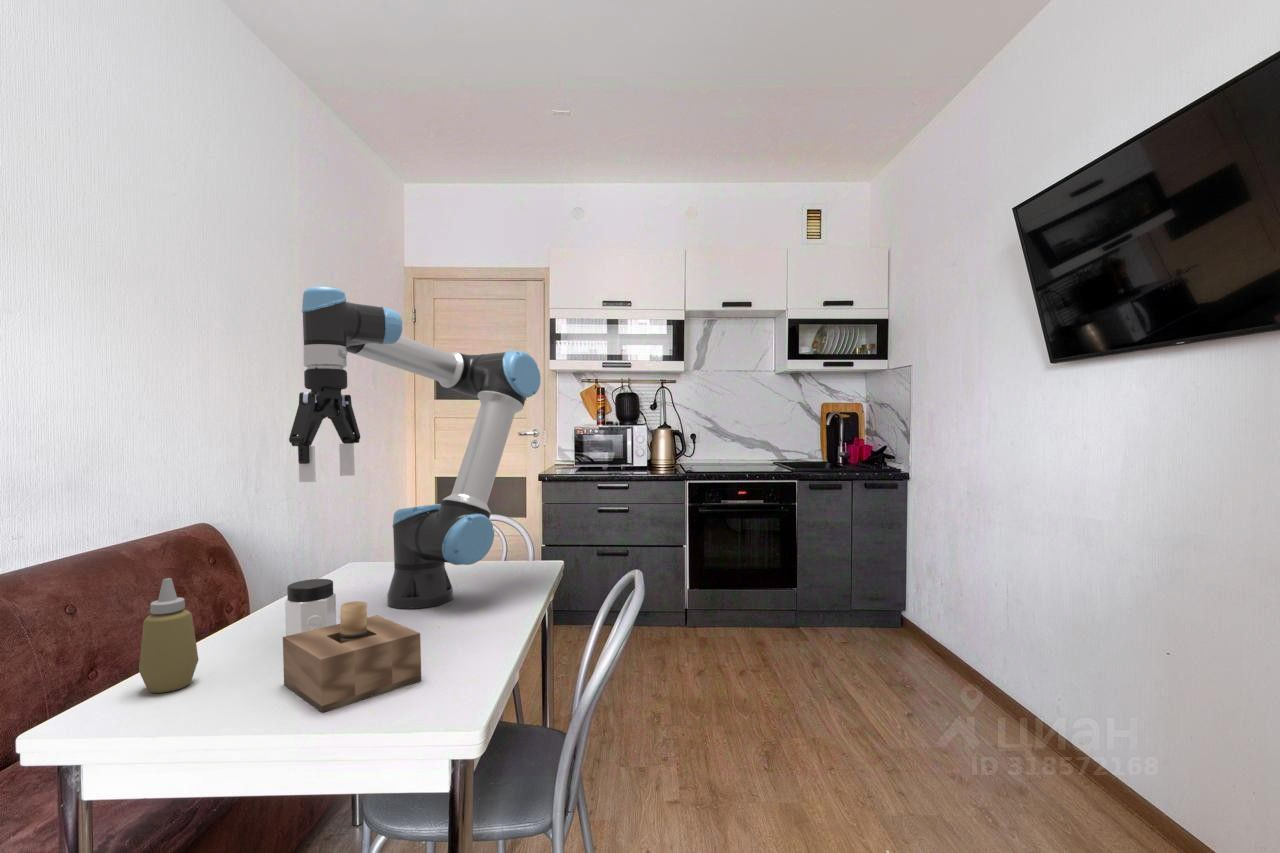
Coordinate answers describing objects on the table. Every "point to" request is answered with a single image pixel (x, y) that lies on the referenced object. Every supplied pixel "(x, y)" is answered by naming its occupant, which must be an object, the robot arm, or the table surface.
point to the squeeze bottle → (168, 643)
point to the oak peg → (353, 621)
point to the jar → (310, 606)
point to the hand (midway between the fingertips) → (328, 478)
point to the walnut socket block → (351, 663)
